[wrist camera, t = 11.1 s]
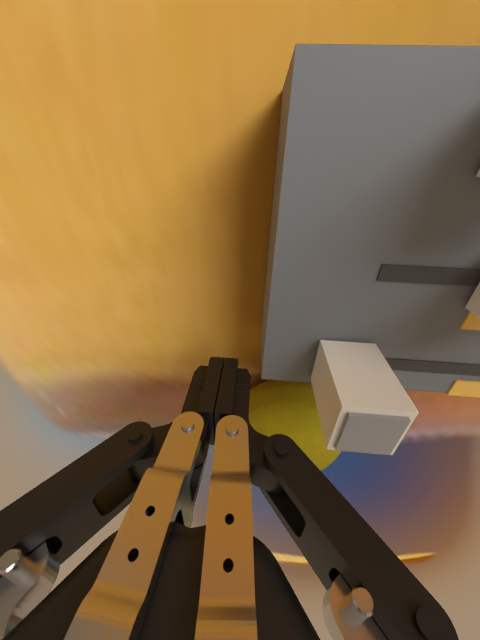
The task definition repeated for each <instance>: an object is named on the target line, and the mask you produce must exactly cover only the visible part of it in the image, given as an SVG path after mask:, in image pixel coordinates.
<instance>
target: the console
mask: <svg viewBox="0 0 480 640" xmlns="http://www.w3.org/2000/svg"><path fill="white" fill-rule="evenodd" d="M479 169H480V46H430V45H354V44H296V45H295V48H294V52H293V55H292V59H291V62H290V66H289V69H288V73H287V76H286V80H285V83H284V87H283V91H282V102H281V114H280V125H279V136H278V147H277V158H276V169H275V181H274V192H273V203H272V214H271V225H270V236H269V248H268V259H267V270H266V281H265V292H264V303H263V314H262V326H261V379H269V380H282V381H296V382H309V383H311V375H312V371H313V367H314V363H315V359H316V355H317V351H318V347H319V343H320V340H329V341H344V342H359V343H374V344H376V345H377V347H378V348H379V350H380V351H381V353H382V355H383V356H384V358H385V359H386V361H387V362H388V364H389V366H390V367H391V369H392V370H393V372H394V374H395V375H396V377H397V378H398V380H399V381H400V383H401V385H402V386H403V388H404V389H405V390H418V391H431V392H445V393H447V395H453V396H467V397H480V318H479V317H477V316H476V315H474V314H473V313H472V312H470V311H469V310H467V309H466V308H465V307H466V305H467V303H468V301H469V300H470V298H471V296H472V294H473V293H474V291H475V289H476V287H477V286H478V284H479V282H480V177H476V175H477V173H478V171H479Z"/></svg>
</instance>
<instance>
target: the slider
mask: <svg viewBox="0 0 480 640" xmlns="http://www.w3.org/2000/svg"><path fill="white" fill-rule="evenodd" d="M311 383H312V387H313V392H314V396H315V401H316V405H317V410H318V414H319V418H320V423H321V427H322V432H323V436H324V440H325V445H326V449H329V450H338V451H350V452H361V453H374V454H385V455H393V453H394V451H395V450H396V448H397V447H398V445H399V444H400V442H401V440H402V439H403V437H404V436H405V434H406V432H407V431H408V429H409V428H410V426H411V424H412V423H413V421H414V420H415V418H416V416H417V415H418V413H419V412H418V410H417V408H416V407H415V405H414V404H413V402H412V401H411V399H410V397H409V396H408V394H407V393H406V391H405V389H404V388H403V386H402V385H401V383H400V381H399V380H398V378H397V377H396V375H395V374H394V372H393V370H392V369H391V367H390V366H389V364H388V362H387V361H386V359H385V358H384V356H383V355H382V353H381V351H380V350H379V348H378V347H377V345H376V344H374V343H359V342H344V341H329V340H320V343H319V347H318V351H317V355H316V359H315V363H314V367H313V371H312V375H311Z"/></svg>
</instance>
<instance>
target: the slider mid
mask: <svg viewBox="0 0 480 640" xmlns="http://www.w3.org/2000/svg"><path fill="white" fill-rule="evenodd" d="M465 308H466V309H467V310H469V311H470V312H472V313H473V314H474V315H476V316H477V317H479V318H480V282H479V284H478V286H477V287H476V289H475V291H474V293H473V294H472V296H471V298H470V300H469V301H468V303H467V305H466V307H465Z"/></svg>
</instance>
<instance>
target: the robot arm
mask: <svg viewBox="0 0 480 640" xmlns="http://www.w3.org/2000/svg"><path fill="white" fill-rule="evenodd" d="M250 380H251V376H250V374H249V372H248V370H247V369H240V368H238V359H236V358H225V360H224V358H221V357H211V358H210V361H209V365H208V366H200V367H199V368H198V369H197V370H196V371H195V372H194V375H193V378H192V381H191V384H190V388H189V390H188V393H187V396H186V400H185V403H184V406H183V409H182V412H181V414H180V415H178V416H177V417H176V418H175V419H174V421H173V422H171V423H170V424H167V425H164V426H159V427H154V428H151V426H150V425H149V424H148V423H146V422H134V423H131V424H129V425H127V426H126V427H124V428H123V429H121V430H120V431H118V432H117V433H115V434H114V435H113V436H111V437H110V438H108V439H107V440H105V441H104V442H102V443H101V444H99V445H98V446H96V447H95V448H93V449H92V450H90V451H89V452H87V453H86V454H84V455H83V456H81V457H80V458H78V459H77V460H75V461H74V462H72V463H71V464H69V465H68V466H66V467H65V468H63V469H62V470H60V471H59V472H58V473H56V474H55V475H53V476H52V477H50V478H49V479H47V480H46V481H44V482H43V483H41V484H40V485H38V486H37V487H36V488H34V489H32V490H31V491H29V492H28V493H26V494H25V495H23V496H22V497H20V498H19V499H17V500H16V501H14V502H13V503H12V504H10V505H9V506H7V507H5V508H4V509H3V510H1V511H0V640H320V638H319V637H318V635H317V633H316V631H315V629H314V627H313V626H312V624H311V622H310V620H309V618H308V616H307V615H306V613H305V611H304V609H303V608H302V606H301V604H300V602H299V600H298V598H297V596H296V595H295V593H294V591H293V589H292V587H291V586H290V584H289V582H288V580H287V578H286V576H285V575H284V573H283V571H282V569H281V567H280V565H279V564H278V562H277V560H276V558H275V557H274V556H273V554H272V553H271V551H270V550H269V549H268V548H267V547H266V546H265V545H264V544H263V543H262V542H261V541H260V540H259V539H257V538H256V537H254V536H253V525H252V497H251V484H254V485H256V486H258V487H260V489H261V491H262V493H263V495H264V496H265V497H266V499H267V501H268V502H269V504H270V505H271V507H272V508H273V510H274V511H275V513H276V514H277V516H278V517H279V518H280V520H281V522H282V523H283V525H284V526H285V528H286V529H287V531H288V532H289V534H290V535H291V537H292V538H293V540H294V541H295V543H296V544H297V546H298V547H299V549H300V550H301V552H302V553H303V555H304V556H305V558H306V559H307V561H308V563H309V564H310V566H311V567H312V569H313V570H314V572H315V573H316V574H317V576H318V578H319V579H320V580H321V582H322V584H323V585H324V587H325V588H326V590H327V591H326V593H325V595H324V598H323V615H324V620H325V623H326V626H327V628H328V630H329V633H330V635H331V636H332V639H333V640H458V636H457V633H456V631H455V628H454V626H453V624H452V622H451V620H450V618H449V617H448V615H447V613H446V612H445V611H444V609H443V608H442V607H441V605H440V604H439V603H438V602H437V601H436V600H435V599H434V598H433V596H432V595H431V594H430V593H429V592H428V591H427V590H426V589H425V587H424V586H423V585H422V584H421V583H420V582H419V581H418V580H417V578H416V577H415V576H414V575H413V574H412V573H411V572H410V571H409V570H408V568H407V567H406V566H405V565H404V564H403V563H402V562H401V561H400V559H399V558H398V557H397V556H396V555H395V554H394V553H393V552H392V550H391V549H390V548H389V547H388V546H387V545H386V544H385V543H384V542H383V540H382V539H381V538H380V537H379V536H378V535H377V534H376V533H375V531H374V530H373V529H372V528H371V527H370V526H369V525H368V524H367V522H366V521H365V520H364V519H363V518H362V517H361V516H360V515H359V513H357V511H356V510H355V509H354V508H353V507H352V506H351V504H350V503H349V502H348V501H347V500H346V499H345V498H344V497H343V496H342V494H341V493H340V492H339V491H338V490H337V489H336V488H335V487H334V486H333V484H332V483H331V482H330V481H329V480H328V479H327V478H326V476H325V475H324V474H323V473H322V472H321V471H320V470H319V469H318V468H317V466H316V465H315V464H314V463H313V462H312V461H311V460H310V459H309V457H308V456H307V455H306V454H305V453H304V452H303V451H302V450H301V448H300V447H299V446H298V445H297V444H296V443H295V442H294V441H293V440H292V439H291V438H290V437H288V436H286V435H283V434H274V435H272V436H270V437H268V436H266V435H263V434H261V433H259V432H257V431H256V430H255V429H254V428H253V427H252V426H251V424H250V422H249V399H250ZM214 443H215V447H214V458H213V470H212V476H211V479H210V489H209V500H208V511H207V521H206V522H207V523H206V525H205V526H200V527H195V528H191V526H192V521H193V513H194V506H195V502H196V498H197V494H198V490H199V487H200V483H201V479H202V475H203V471H204V468H205V464H206V457H207V452H208V447H209V444H211V445H214ZM130 503H131V504H130ZM128 504H130V506H129V508H128V511H127V513H126V515H125V517H124V520H123V521H122V524H121V526H120V528H119V530H118V531H116V532H115V533H113V534H112V535H110V536H109V537H108V538H107V539H105V540H104V541H103V542H102V543H101V544H100V545H99V546H98V547H97V548H96V549H95V550H94V551H93V552H92V553H91V554H90V555H89V556H88V557H86V559H85V560H83V562H81V563H80V564H79V565H78V566H77V567H76V568H75V569H74V570H73V571H72V572H71V573H70V574H69V575H68V576H67V577H66V578H65V579H64V580H63V581H62V582H61V583H60V584H59V585H58V586H57V587H56V588H55V589H54V590H53V591H51V592H50V590H51V589H52V587H53V585H54V583H55V581H56V579H57V576H58V573H59V568H60V564H62V563H63V562H64V561H65V560H66V559H68V558H69V557H70V556H71V555H72V554H73V553H74V552H75V551H77V550H78V549H79V548H80V547H81V546H82V545H83V544H85V543H86V542H87V541H88V540H89V539H90V538H91V537H92V536H93V535H95V534H96V533H97V532H98V531H99V530H100V529H101V528H103V527H104V526H105V525H106V524H107V523H108V522H109V521H111V520H112V519H113V518H114V517H115V516H116V515H117V514H118V513H120V512H121V511H122V510H123V509H124V508H125V507H126V506H127V505H128ZM49 592H50V593H49ZM48 593H49V594H48ZM47 594H48V595H47ZM46 595H47V596H46ZM45 596H46V597H45ZM44 597H45V598H44ZM43 598H44V599H43ZM42 599H43V600H42ZM41 600H42V601H41ZM40 601H41V602H40ZM39 602H40V603H39Z"/></svg>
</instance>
